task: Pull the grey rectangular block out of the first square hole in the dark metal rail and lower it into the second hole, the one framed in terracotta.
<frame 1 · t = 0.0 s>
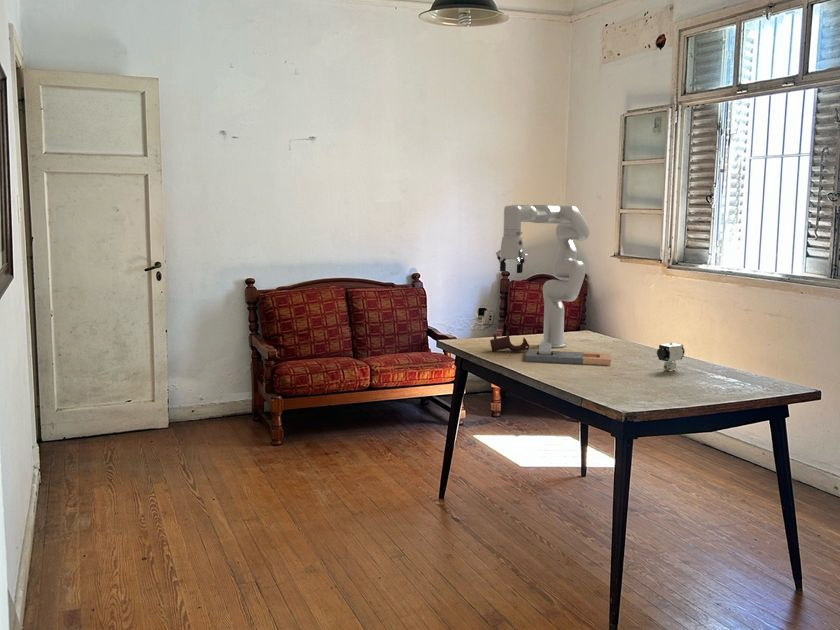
hand: (511, 272, 359), 37 cm above the table, tool pointing down, fingers open, 9 cm apart
grey rectangular block: (544, 359, 355), resting in rail
pneumatic valve: (670, 371, 332), on the table
bracket: (509, 352, 372), on the table
rail: (567, 360, 353), on the table
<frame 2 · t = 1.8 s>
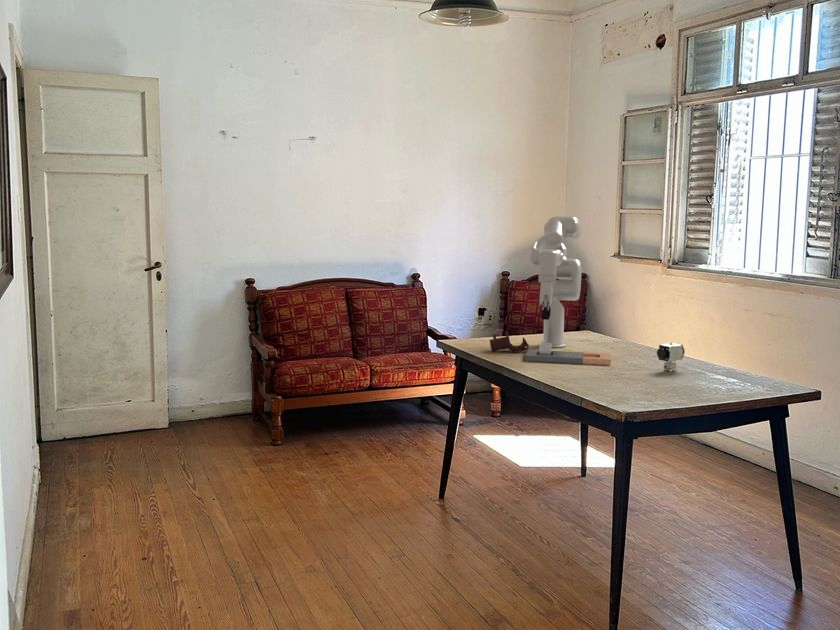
hand: (546, 318, 351), 18 cm above the table, tool pointing down, fingers open, 9 cm apart
nothing on the table moved.
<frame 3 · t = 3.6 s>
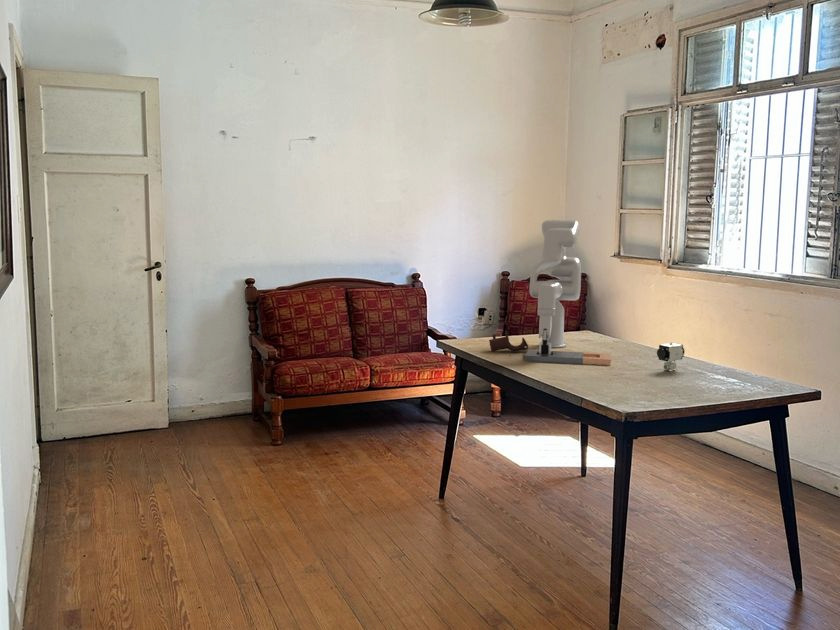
hand: (545, 352, 354), 3 cm above the table, tool pointing down, fingers closed on grey rectangular block, 5 cm apart
grey rectangular block: (544, 359, 355), resting in rail, touching gripper
everything else where it was.
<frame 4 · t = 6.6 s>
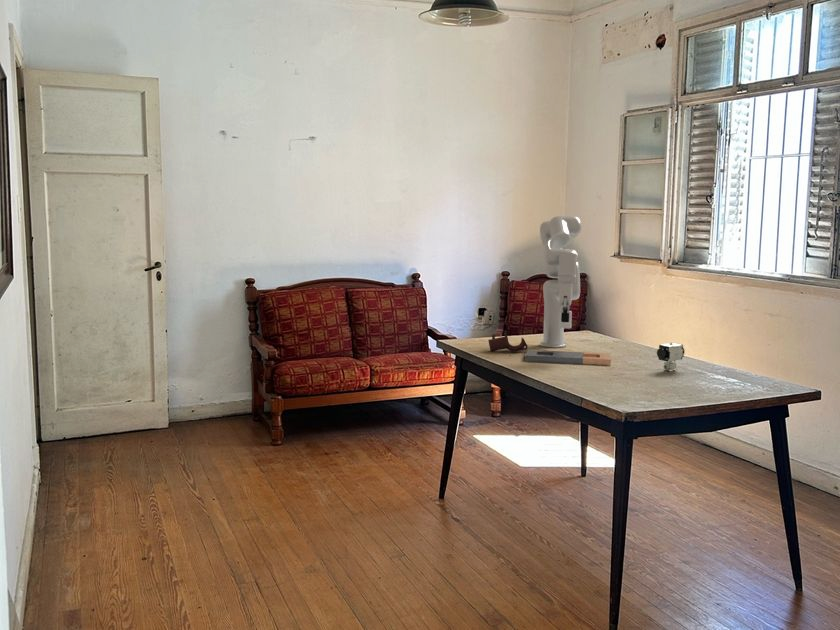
hand: (565, 320, 350), 17 cm above the table, tool pointing down, fingers closed on grey rectangular block, 5 cm apart
grey rectangular block: (565, 327, 351), point 14 cm above the table, touching gripper
everything else where it was.
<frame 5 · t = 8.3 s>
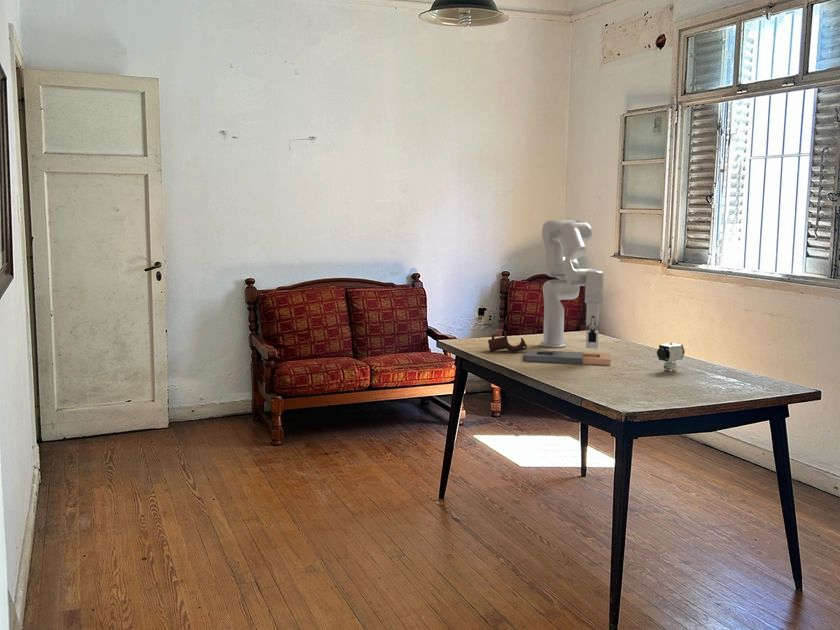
hand: (592, 340, 349), 9 cm above the table, tool pointing down, fingers closed on grey rectangular block, 5 cm apart
grey rectangular block: (591, 347, 350), point 6 cm above the table, touching gripper
when the fingers open (4 cm above the table, at t = 9.8 s): grey rectangular block stays where it is, resting in rail.
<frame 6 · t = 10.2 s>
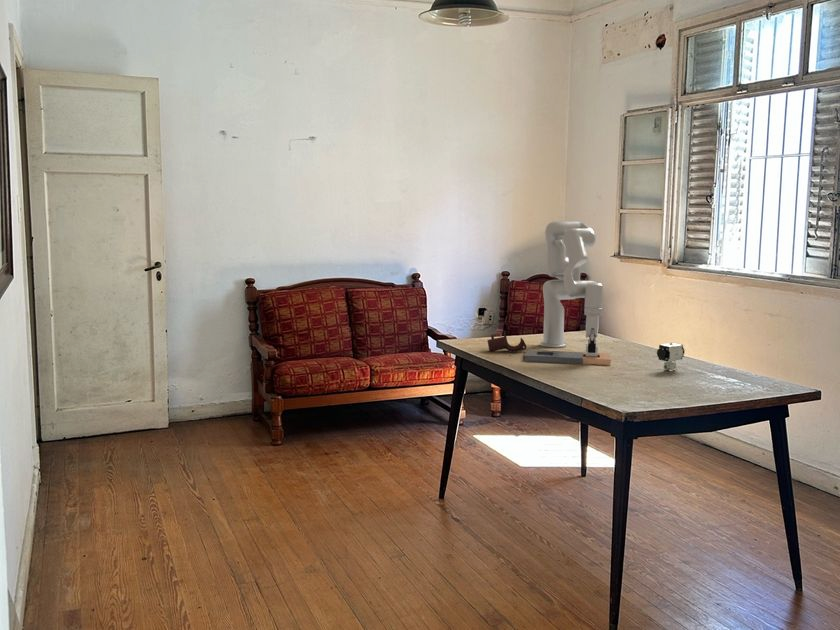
hand: (591, 350, 350), 5 cm above the table, tool pointing down, fingers open, 9 cm apart
grey rectangular block: (591, 361, 351), resting in rail
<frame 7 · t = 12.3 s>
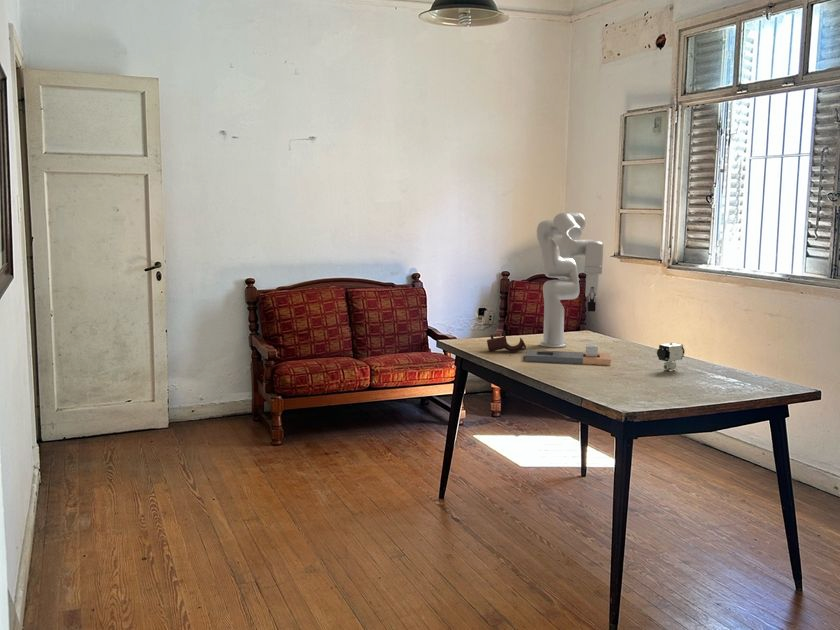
hand: (591, 309, 348), 23 cm above the table, tool pointing down, fingers open, 9 cm apart
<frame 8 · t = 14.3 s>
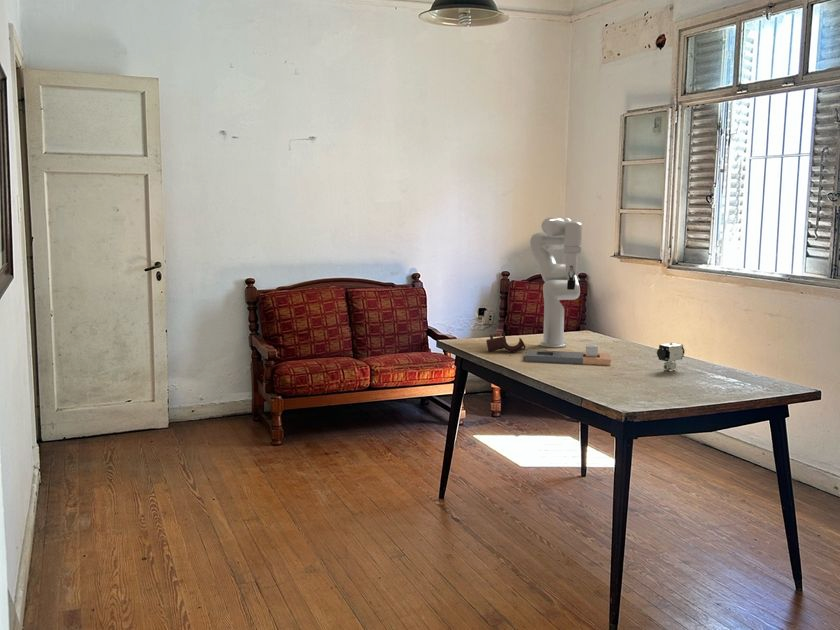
hand: (571, 288, 360), 30 cm above the table, tool pointing down, fingers open, 9 cm apart
at the end: grey rectangular block 0.1 cm from the target spot, resting in rail; grey rectangular block tilted 0°; the gripper is holding nothing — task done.
